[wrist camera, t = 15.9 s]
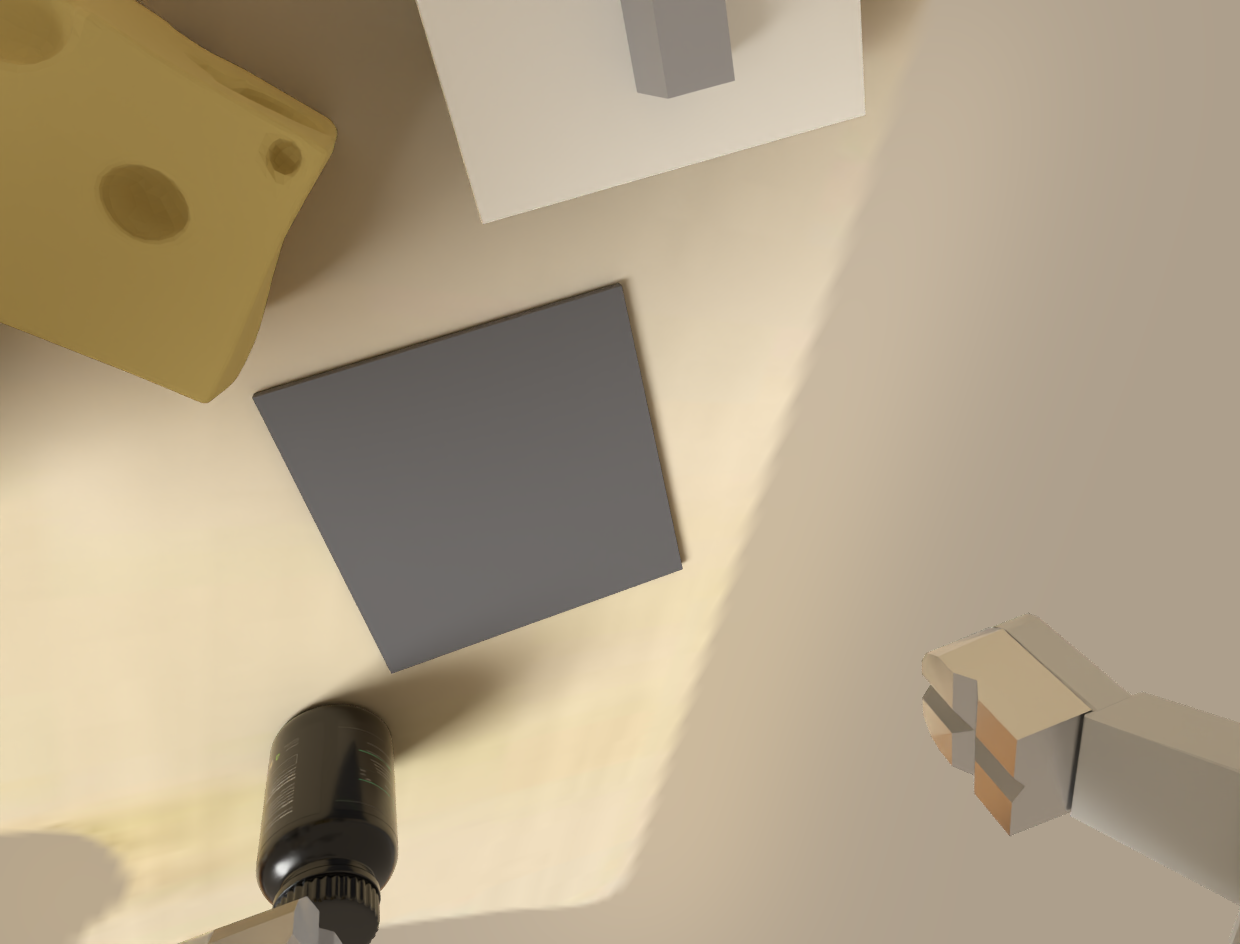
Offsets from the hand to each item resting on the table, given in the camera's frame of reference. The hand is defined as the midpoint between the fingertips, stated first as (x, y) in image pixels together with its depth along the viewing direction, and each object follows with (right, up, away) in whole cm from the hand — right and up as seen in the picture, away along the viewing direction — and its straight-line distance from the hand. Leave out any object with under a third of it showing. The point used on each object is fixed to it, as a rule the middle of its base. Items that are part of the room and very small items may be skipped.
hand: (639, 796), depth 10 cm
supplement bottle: (-17, -12, +38) cm, 43 cm away
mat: (-7, +3, +33) cm, 34 cm away
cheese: (-18, +16, +22) cm, 33 cm away
